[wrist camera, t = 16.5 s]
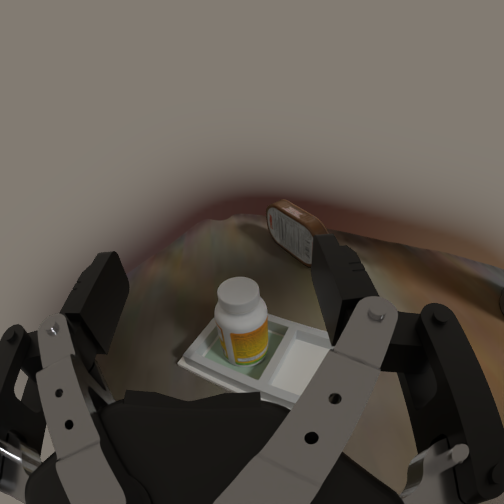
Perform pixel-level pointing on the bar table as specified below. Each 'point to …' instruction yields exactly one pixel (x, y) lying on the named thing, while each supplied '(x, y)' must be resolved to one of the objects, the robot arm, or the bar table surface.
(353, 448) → the bar table surface
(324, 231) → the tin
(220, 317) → the supplement bottle
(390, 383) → the bar table surface
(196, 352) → the compartment tray
